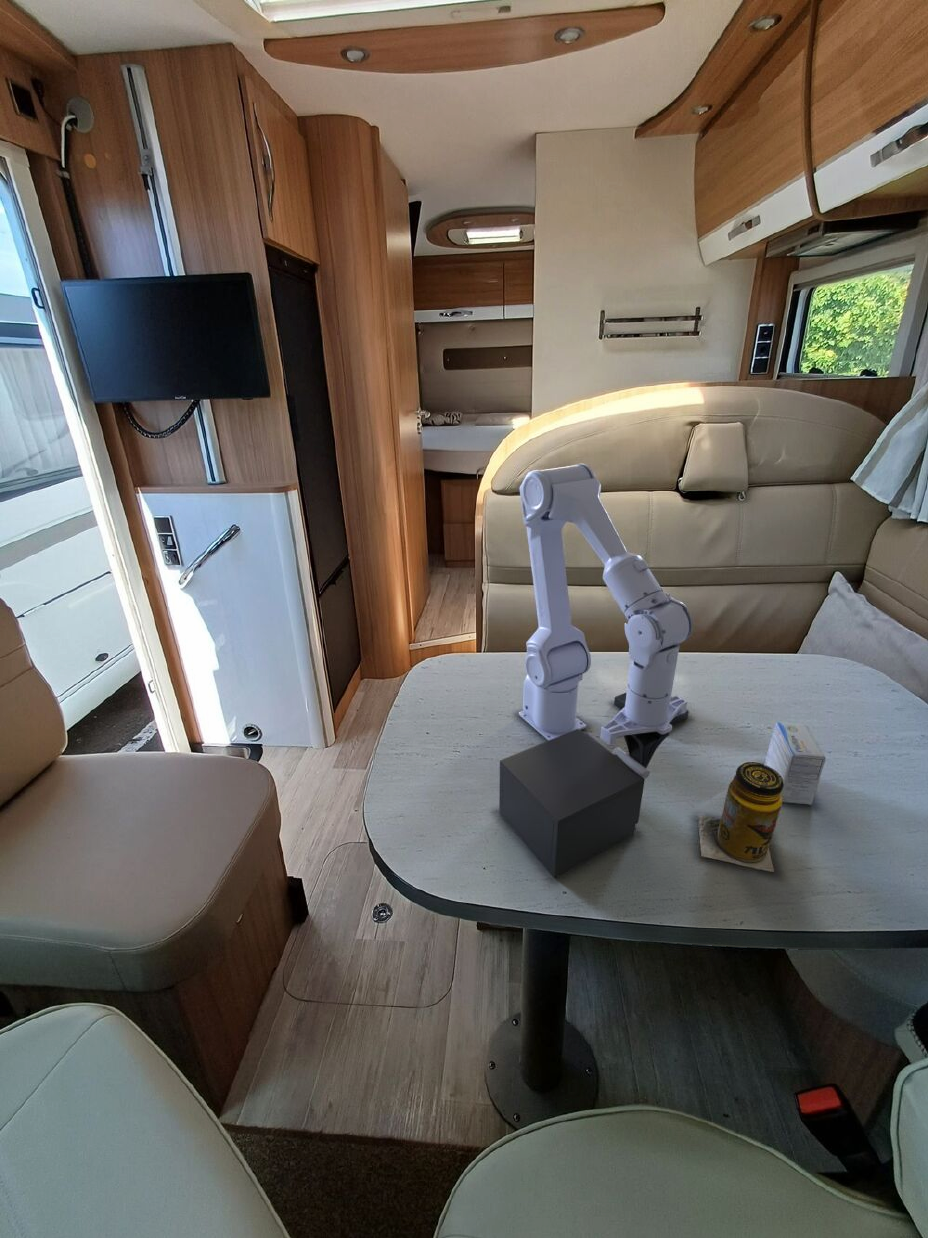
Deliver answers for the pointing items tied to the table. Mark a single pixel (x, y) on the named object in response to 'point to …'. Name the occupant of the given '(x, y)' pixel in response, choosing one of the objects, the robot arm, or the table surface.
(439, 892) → the table surface
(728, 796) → the condiment
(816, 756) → the medicine box
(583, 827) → the grey cube with drawer
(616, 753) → the drawer
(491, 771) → the table surface
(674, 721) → the control block
